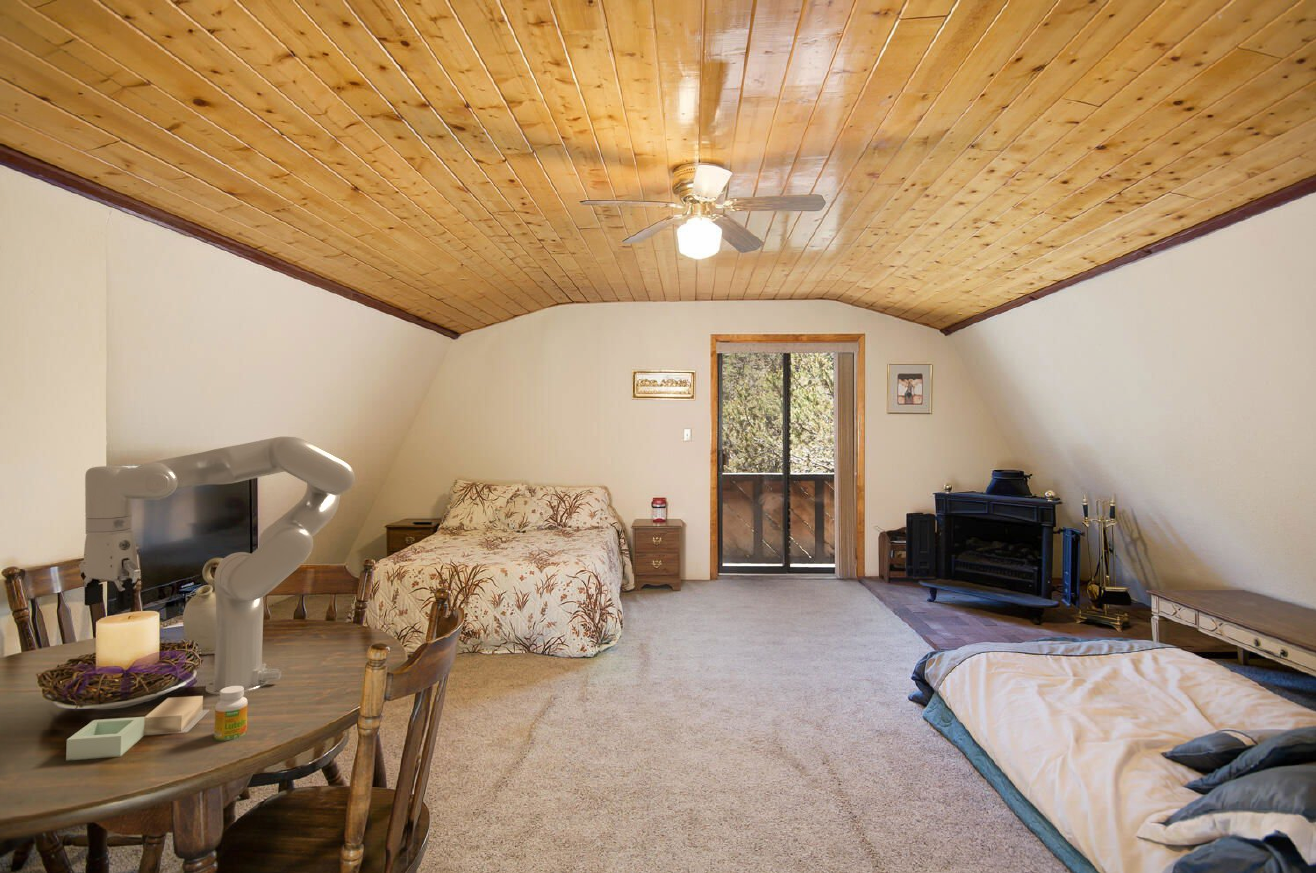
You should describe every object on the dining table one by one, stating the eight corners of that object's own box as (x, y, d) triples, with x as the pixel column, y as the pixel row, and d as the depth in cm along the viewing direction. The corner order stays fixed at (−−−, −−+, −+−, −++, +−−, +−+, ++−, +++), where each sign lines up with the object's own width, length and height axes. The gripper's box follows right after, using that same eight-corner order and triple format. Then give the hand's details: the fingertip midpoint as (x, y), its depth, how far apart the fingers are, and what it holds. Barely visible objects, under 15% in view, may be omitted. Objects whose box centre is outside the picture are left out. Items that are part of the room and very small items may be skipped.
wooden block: (202, 710, 142) (202, 695, 142) (181, 731, 132) (181, 715, 132) (167, 713, 140) (167, 697, 140) (143, 734, 131) (143, 717, 131)
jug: (210, 660, 175) (213, 564, 174) (167, 652, 179) (170, 559, 179) (261, 643, 189) (263, 555, 189) (220, 636, 194) (222, 550, 194)
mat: (210, 713, 143) (210, 709, 143) (187, 736, 132) (187, 732, 132) (161, 716, 141) (161, 712, 141) (134, 739, 130) (134, 735, 130)
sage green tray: (143, 739, 130) (144, 716, 130) (120, 760, 122) (121, 735, 122) (93, 743, 128) (93, 720, 128) (66, 764, 120) (66, 739, 120)
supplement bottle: (222, 747, 128) (224, 696, 128) (208, 739, 131) (210, 690, 131) (252, 737, 133) (253, 688, 133) (238, 729, 135) (239, 682, 135)
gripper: (156, 525, 141) (156, 605, 141) (101, 520, 146) (101, 598, 147) (117, 530, 134) (118, 615, 134) (61, 525, 139) (61, 606, 140)
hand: (109, 606), depth 140 cm, fingers open, 9 cm apart
